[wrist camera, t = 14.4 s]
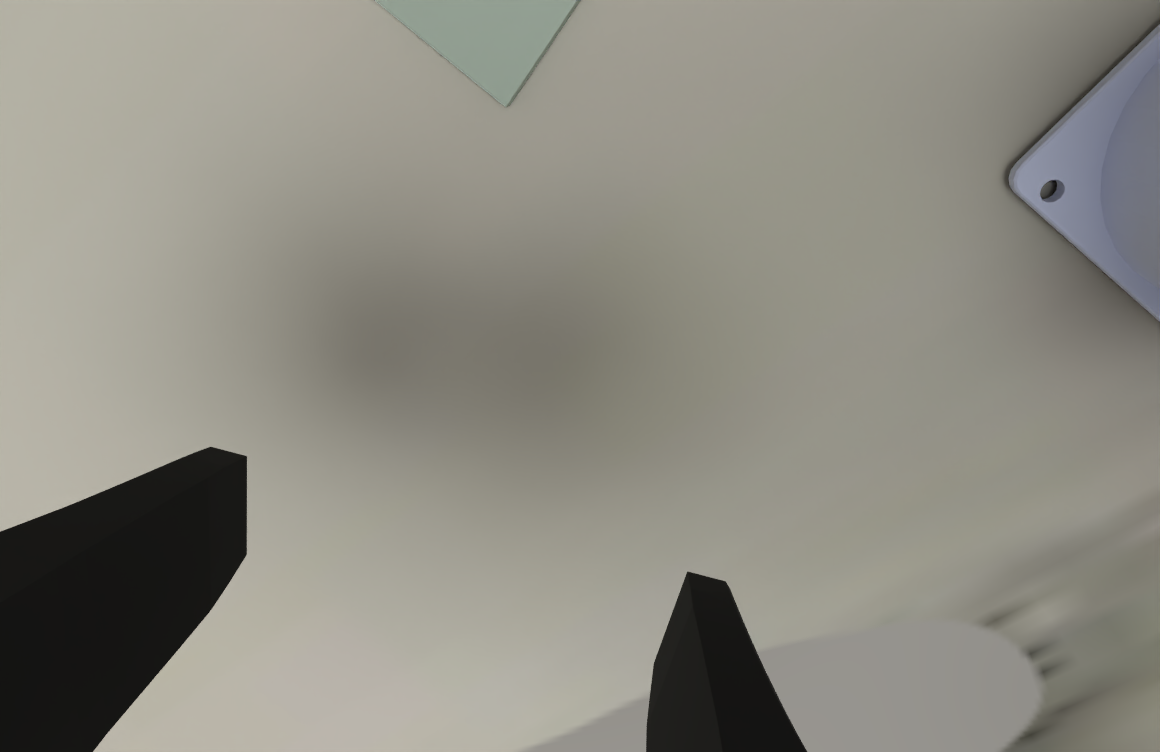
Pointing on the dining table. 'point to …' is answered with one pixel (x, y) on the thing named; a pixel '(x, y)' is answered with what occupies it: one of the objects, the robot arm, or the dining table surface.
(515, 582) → the dining table surface
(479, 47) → the toolbox lid
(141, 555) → the robot arm
